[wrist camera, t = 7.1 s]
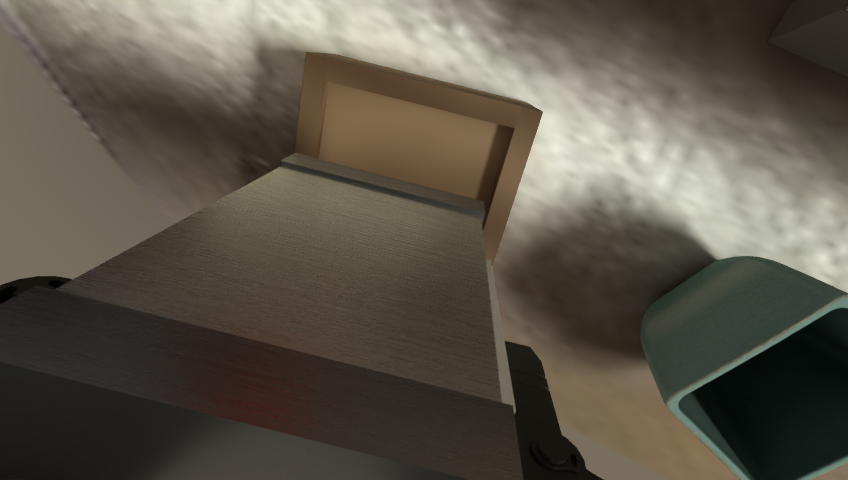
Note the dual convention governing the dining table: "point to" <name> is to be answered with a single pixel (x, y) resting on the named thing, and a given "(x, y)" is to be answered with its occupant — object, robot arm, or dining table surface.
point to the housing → (269, 344)
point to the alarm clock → (816, 32)
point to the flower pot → (755, 366)
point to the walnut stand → (417, 132)
